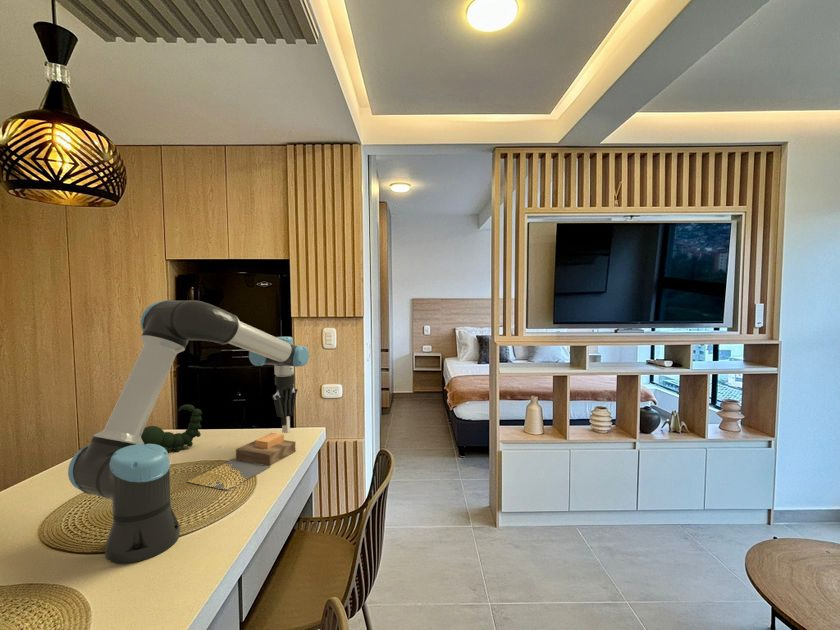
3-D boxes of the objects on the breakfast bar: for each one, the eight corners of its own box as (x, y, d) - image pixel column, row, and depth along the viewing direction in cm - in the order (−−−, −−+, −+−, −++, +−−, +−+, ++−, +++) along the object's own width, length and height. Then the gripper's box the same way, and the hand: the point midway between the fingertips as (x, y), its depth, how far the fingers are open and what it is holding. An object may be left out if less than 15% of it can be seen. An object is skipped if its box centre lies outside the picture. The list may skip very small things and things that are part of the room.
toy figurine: (198, 446, 172) (125, 454, 157) (201, 401, 172) (128, 405, 158) (200, 452, 164) (124, 462, 150) (203, 406, 164) (127, 410, 150)
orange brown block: (267, 448, 152) (267, 442, 152) (255, 446, 154) (255, 440, 154) (284, 440, 160) (283, 434, 160) (272, 438, 162) (271, 432, 162)
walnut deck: (270, 465, 146) (269, 454, 146) (236, 459, 152) (235, 449, 152) (295, 451, 159) (295, 441, 159) (263, 446, 165) (263, 437, 165)
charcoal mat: (227, 491, 127) (227, 490, 127) (185, 482, 134) (185, 481, 134) (270, 467, 145) (270, 466, 145) (232, 460, 151) (231, 459, 151)
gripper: (280, 378, 157) (282, 438, 158) (302, 372, 169) (303, 428, 170) (265, 377, 160) (267, 436, 161) (287, 371, 172) (289, 426, 173)
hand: (286, 432), depth 166 cm, fingers closed
